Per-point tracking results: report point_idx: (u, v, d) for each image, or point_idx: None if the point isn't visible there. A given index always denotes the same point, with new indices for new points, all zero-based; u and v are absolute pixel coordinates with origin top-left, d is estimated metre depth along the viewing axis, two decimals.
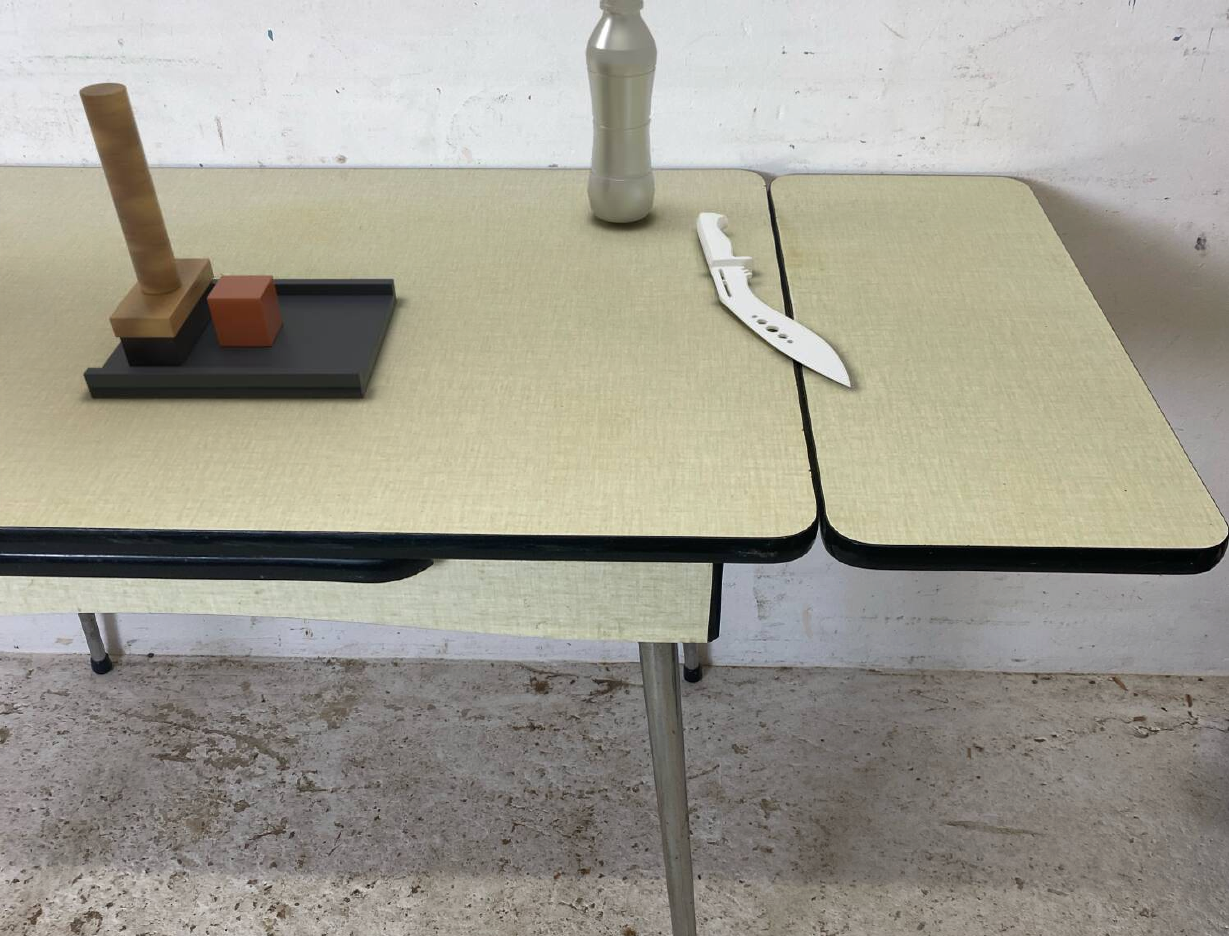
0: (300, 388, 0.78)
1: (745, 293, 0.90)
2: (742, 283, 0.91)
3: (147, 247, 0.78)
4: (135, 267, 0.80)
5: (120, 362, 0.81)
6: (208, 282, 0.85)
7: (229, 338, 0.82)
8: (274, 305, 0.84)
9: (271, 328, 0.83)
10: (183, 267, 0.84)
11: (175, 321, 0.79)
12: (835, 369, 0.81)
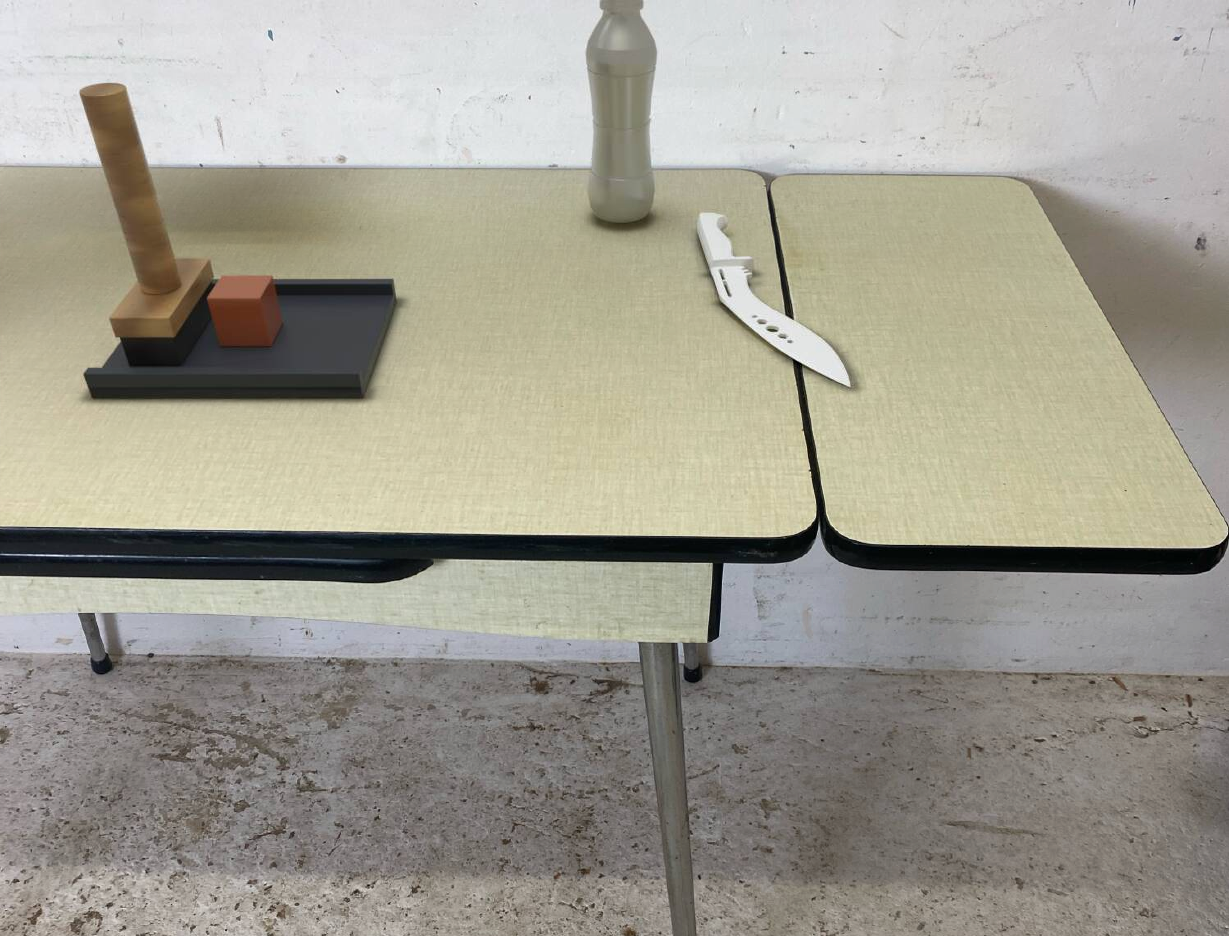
0: (300, 388, 0.78)
1: (745, 293, 0.90)
2: (742, 283, 0.91)
3: (147, 247, 0.78)
4: (135, 267, 0.80)
5: (120, 362, 0.81)
6: (208, 282, 0.85)
7: (229, 338, 0.82)
8: (274, 305, 0.84)
9: (271, 328, 0.83)
10: (183, 267, 0.84)
11: (175, 321, 0.79)
12: (835, 369, 0.81)
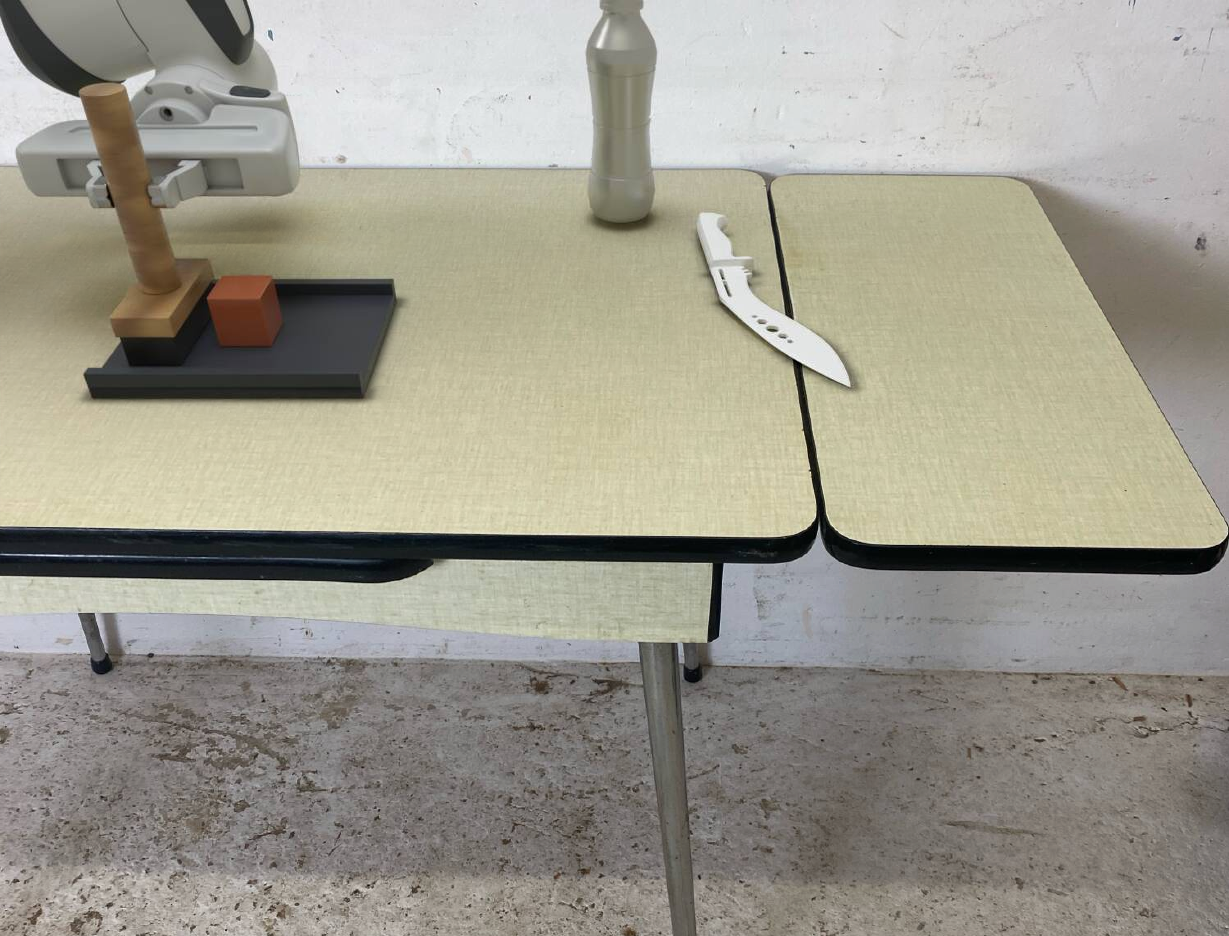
0: (300, 388, 0.78)
1: (745, 293, 0.90)
2: (742, 283, 0.91)
3: (147, 247, 0.78)
4: (135, 267, 0.80)
5: (120, 362, 0.81)
6: (208, 282, 0.85)
7: (229, 338, 0.82)
8: (274, 305, 0.84)
9: (271, 328, 0.83)
10: (183, 267, 0.84)
11: (175, 321, 0.79)
12: (835, 369, 0.81)
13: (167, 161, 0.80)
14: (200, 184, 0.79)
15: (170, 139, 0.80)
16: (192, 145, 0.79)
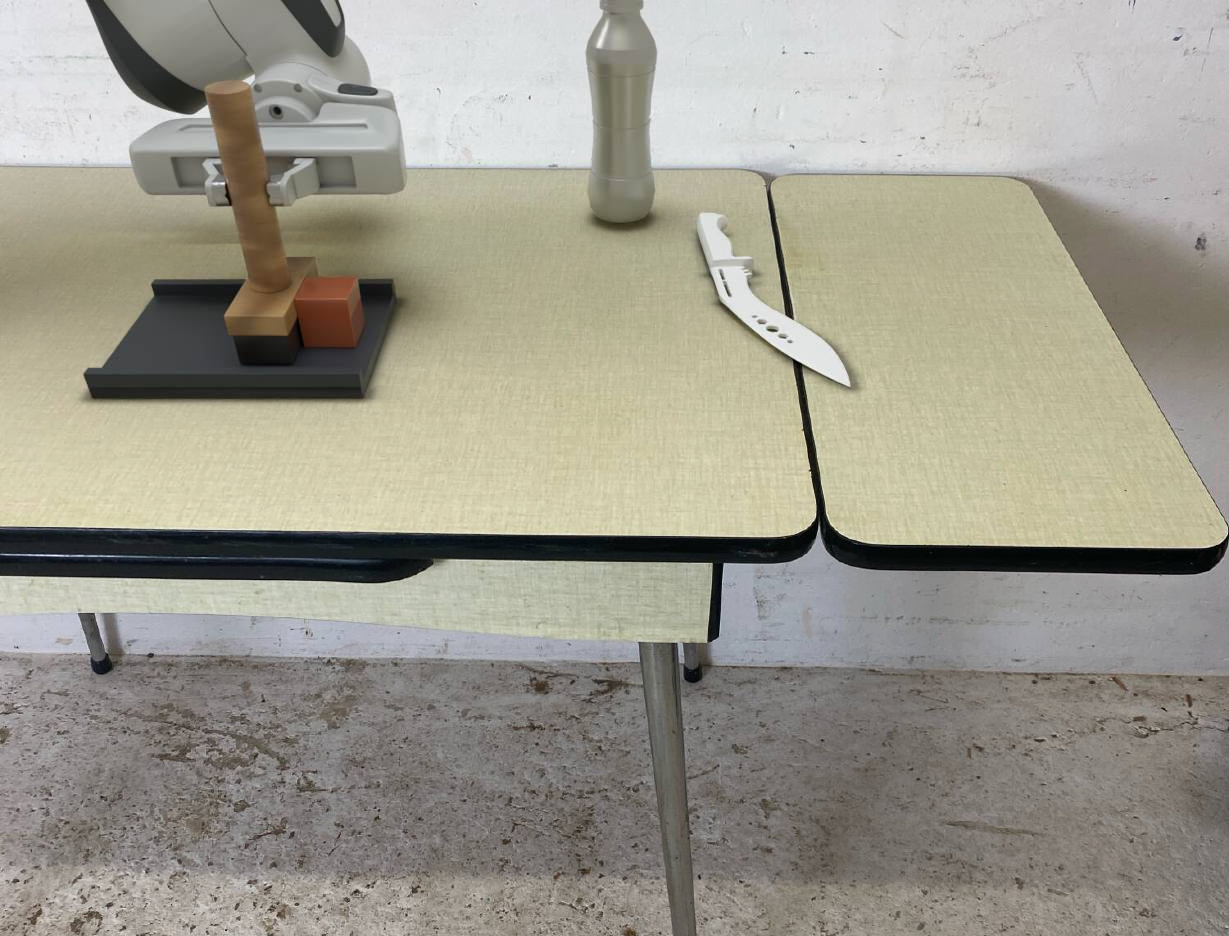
0: (300, 388, 0.78)
1: (745, 293, 0.90)
2: (742, 283, 0.91)
3: (262, 245, 0.78)
4: (248, 265, 0.80)
5: (120, 362, 0.81)
6: None
7: (314, 339, 0.82)
8: (358, 306, 0.83)
9: (356, 329, 0.83)
10: (290, 265, 0.84)
11: (289, 320, 0.79)
12: (835, 369, 0.81)
13: (281, 159, 0.80)
14: (314, 182, 0.79)
15: (283, 137, 0.80)
16: (306, 143, 0.79)
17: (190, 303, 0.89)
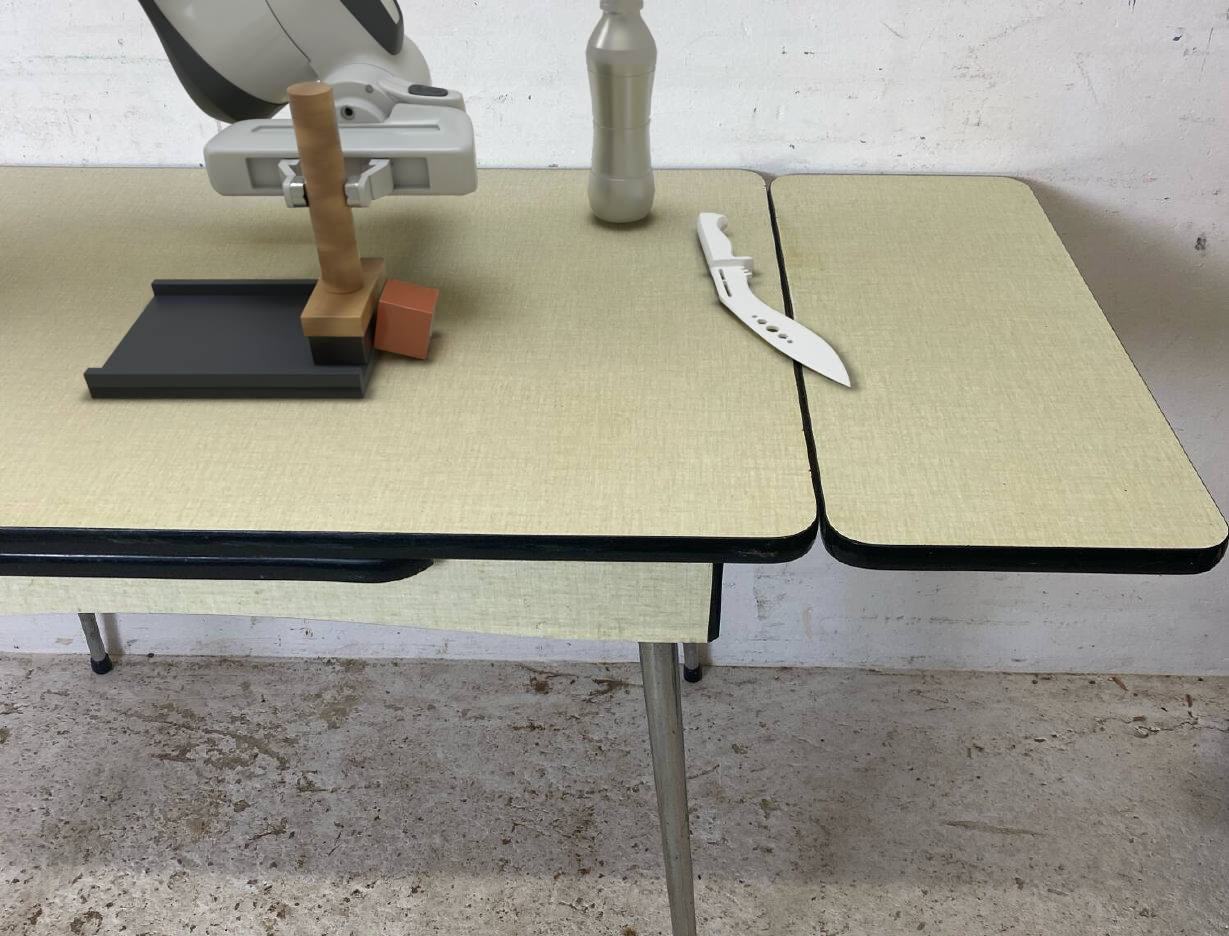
0: (300, 388, 0.78)
1: (745, 293, 0.90)
2: (742, 283, 0.91)
3: (338, 246, 0.78)
4: (323, 266, 0.80)
5: (120, 362, 0.81)
6: (383, 281, 0.85)
7: (386, 342, 0.82)
8: (433, 319, 0.84)
9: (428, 342, 0.83)
10: (361, 266, 0.84)
11: (364, 321, 0.79)
12: (835, 369, 0.81)
13: (355, 160, 0.80)
14: (389, 183, 0.79)
15: (357, 138, 0.80)
16: (381, 144, 0.79)
17: (190, 303, 0.89)
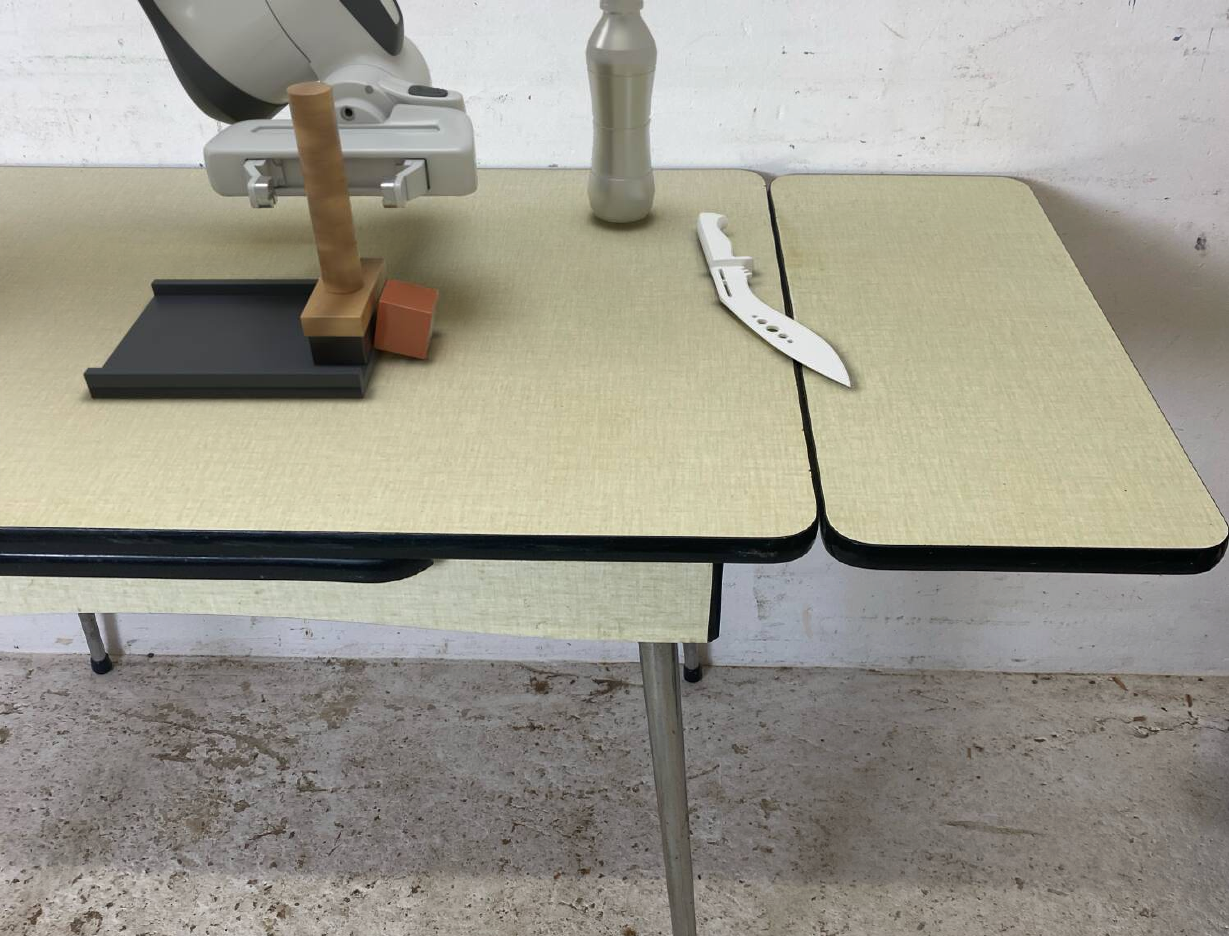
0: (300, 388, 0.78)
1: (745, 293, 0.90)
2: (742, 282, 0.91)
3: (338, 246, 0.78)
4: (323, 266, 0.80)
5: (120, 362, 0.81)
6: (383, 281, 0.85)
7: (386, 342, 0.82)
8: (433, 319, 0.84)
9: (428, 342, 0.83)
10: (361, 266, 0.84)
11: (364, 321, 0.79)
12: (835, 369, 0.81)
13: (355, 160, 0.80)
14: (424, 184, 0.79)
15: (357, 138, 0.80)
16: (381, 145, 0.79)
17: (190, 303, 0.89)
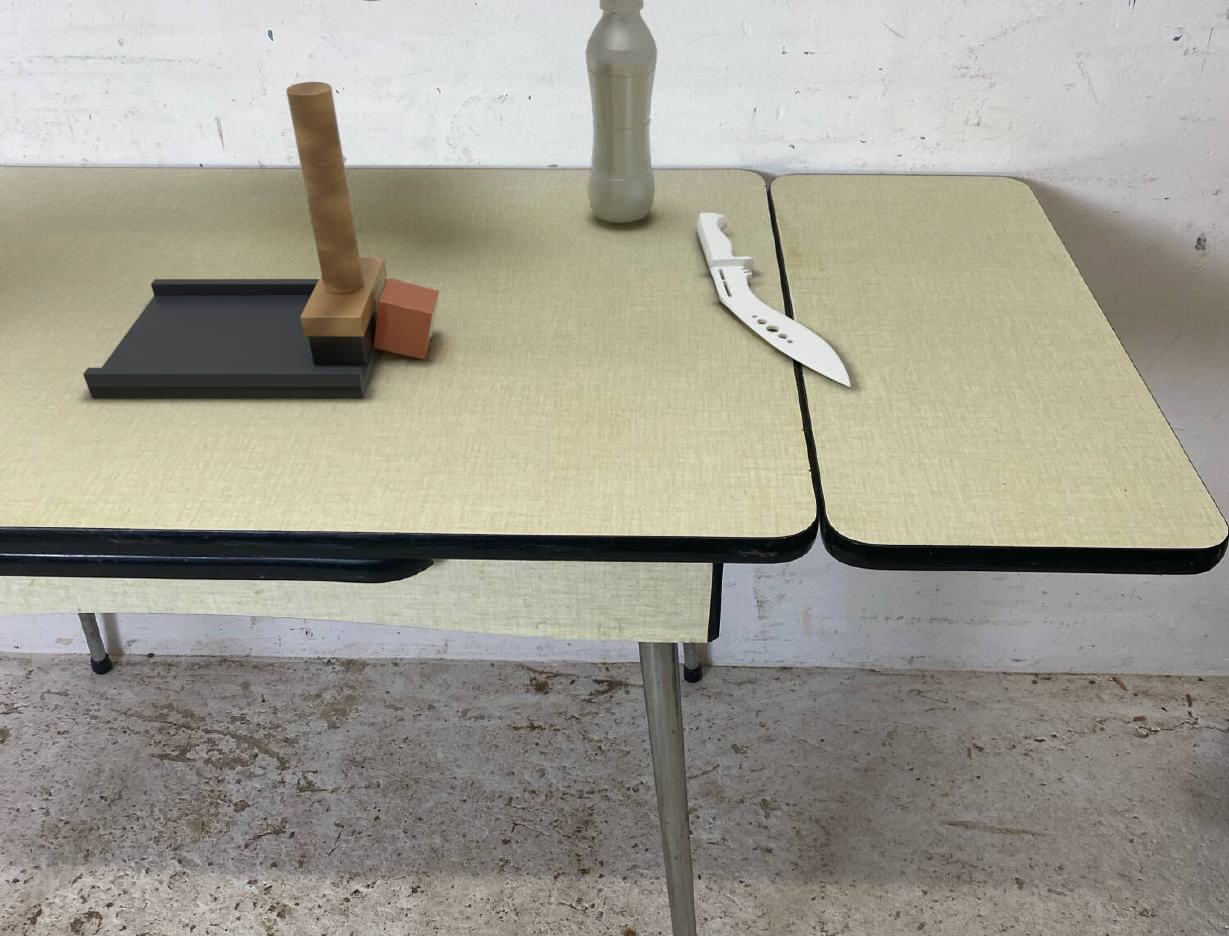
0: (300, 388, 0.78)
1: (745, 293, 0.90)
2: (742, 283, 0.91)
3: (338, 246, 0.78)
4: (323, 266, 0.80)
5: (120, 362, 0.81)
6: (383, 281, 0.85)
7: (386, 342, 0.82)
8: (433, 319, 0.84)
9: (428, 342, 0.83)
10: (361, 266, 0.84)
11: (364, 321, 0.79)
12: (835, 369, 0.81)
13: None
14: None
15: None
16: None
17: (190, 303, 0.89)
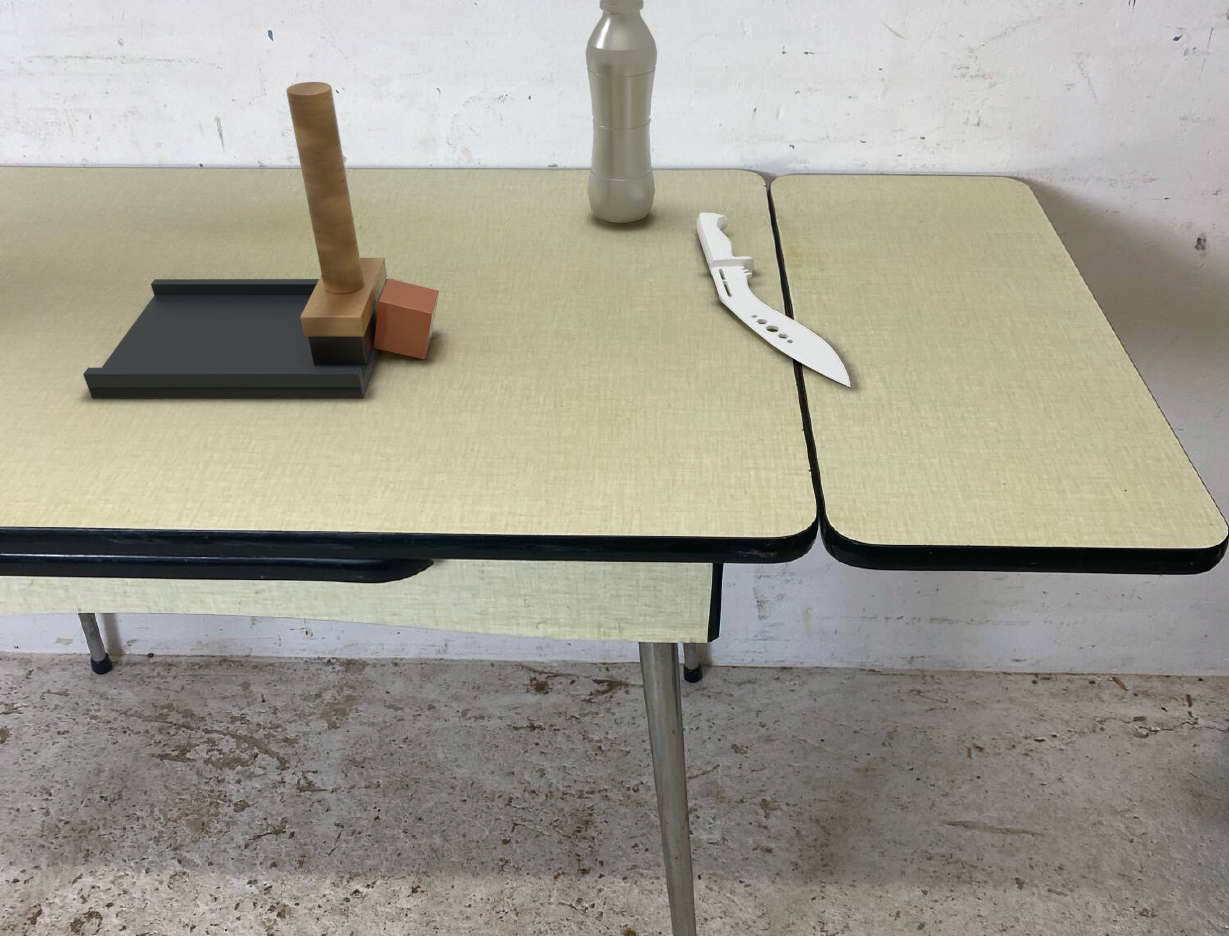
0: (300, 388, 0.78)
1: (745, 293, 0.90)
2: (742, 282, 0.91)
3: (338, 246, 0.78)
4: (323, 266, 0.80)
5: (120, 362, 0.81)
6: (383, 281, 0.85)
7: (386, 342, 0.82)
8: (433, 319, 0.84)
9: (428, 342, 0.83)
10: (361, 266, 0.84)
11: (364, 321, 0.79)
12: (835, 369, 0.81)
13: None
14: None
15: None
16: None
17: (190, 303, 0.89)
